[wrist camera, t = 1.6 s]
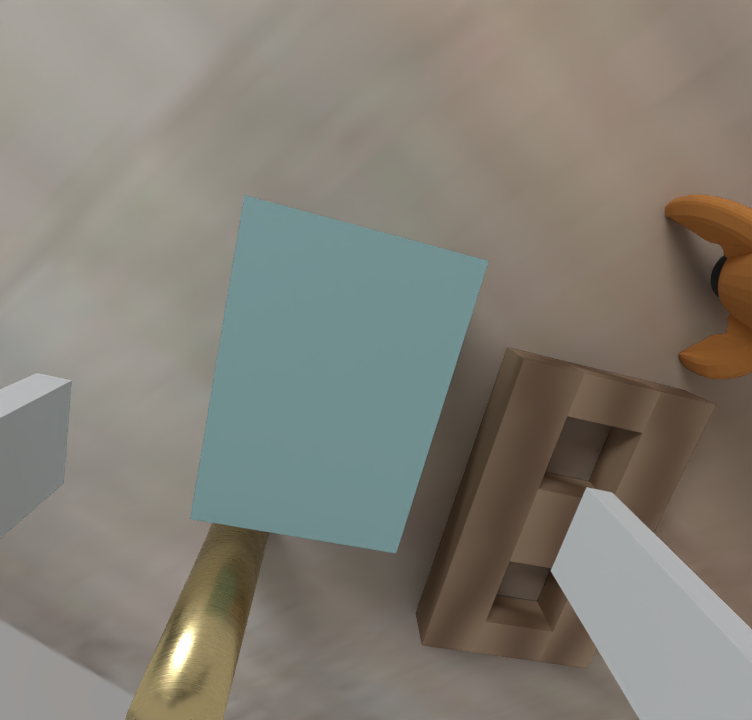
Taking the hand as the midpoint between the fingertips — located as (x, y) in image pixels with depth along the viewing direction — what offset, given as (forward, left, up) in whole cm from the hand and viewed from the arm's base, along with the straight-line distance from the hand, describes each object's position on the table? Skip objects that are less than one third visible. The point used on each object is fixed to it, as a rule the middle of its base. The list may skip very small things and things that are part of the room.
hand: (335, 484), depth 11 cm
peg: (-3, -13, -15) cm, 20 cm away
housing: (0, 0, -15) cm, 15 cm away
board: (+16, -8, -15) cm, 23 cm away
